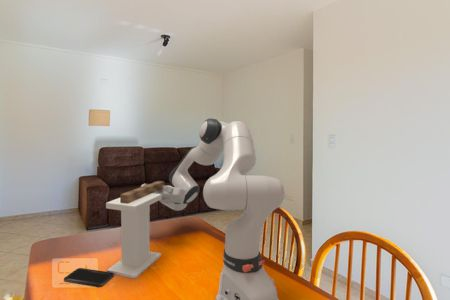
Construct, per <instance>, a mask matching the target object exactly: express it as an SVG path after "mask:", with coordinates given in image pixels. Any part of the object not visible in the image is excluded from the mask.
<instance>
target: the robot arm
mask: <svg viewBox="0 0 450 300" xmlns="http://www.w3.org/2000/svg"><path fill="white" fill-rule="evenodd" d="M199 138H200V141H199V143H198V145H195V146H192V147H191V148H190V149H189V150H187V152H186V153H185V155H184V156H183V157H182V159H180V161H179V163H178V164H177V165H176V166H175V167H174V168H173V169H172V170H171V172H170V173H169V175H168V182H170V184H171V185H165V184H164V185H163V188H162V189H161V190H158V191H156V192H154V193H155V194H162V199H161V200H159V202H160V203H161V204H163V205H164V206H166V207H168V208H169V209H172V211H177V212H178V211H182V210H185V208H187V205H188V204H190V203H192V202H193V201H195V200H196V199H197V198H198V196H199V193H200V186H199V184H198V183H197V182H196V181H195V180H194V178H193V177H192V176H191V175H190V173H189V170H188V169H189V168H190V167H191V165H193V163H194V162H195V163H197V164H199V165H202V166H211V165H214V164H216V162H218V160H219V159H220V156H221V154H222V153H223V164H222V166H221V167H220V169H219V170H218V171H217V172H216V173H215V174H213V175H212V176H210V177H209V178H208V179H207V180H206V181H205V184H204V185H203V190H202V196H203V197H202V198H203V200H204V203H206V205H207V206H208V207H209V208H211V209H216V210H220V211H243V213H242V214H241V215H240V216H238V217H237V218H235V219H233V220H231V221H230V222H229V223H228V225H227V226H226V227H225V235H224V236H225V238H224V249H223V253H222V259H223V261H222V263H223V267H222V269H221V271H220V272H221V273H220V276H219V283H218V284H219V285H218V293H217V294H216V296H215V299H214V300H280V299H279V297H278V290H277V287H276V285H275V280H274V279H273V278H272V277H270V276H269V275H268V272H267V271H266V269H265V268H264V264H266V263H265V259H262V254H261V252H260V243H261V241H260V240H261V233H262V229H263V227H264V223H265V222H266V221H267V219H268V217H269V216H270V215H271V214H272V213H273V212H274V211H275V210H276V209H278V208H279V207H281V205H282V204H283V202H284V199H285V195H286V194H285V188H284V185H283V183H282V182H281V181H280V179H279V178H277V177H273V176H269V175H262V174H261V175H256V174H255V175H253V174H252V175H245V174H247V173H249V172H251V170H252V169H254V167H255V166H256V163H257V161H256V160H257V159H256V158H257V157H256V152H255V150H256V149H255V146H254V140H253V136H252V133H251V131H250V129H249V126H248V125H247V124H246V123H245V122H243V121H239V120H235V121H231V122H229V123H228V122H225V121H222V120H218V119H216V118H207V119H205V120H204V121H203V122H202V124H201V126H200V130H199ZM148 184H149V183H143V184H141V185H140V187H143V186H145V185H148Z"/></svg>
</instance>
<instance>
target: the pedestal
mask: <svg viewBox="0 0 450 300" xmlns="http://www.w3.org/2000/svg"><path fill="white" fill-rule="evenodd" d="M161 199H162V194H155V193H151V194H149V195H147V196H144V197H142V198H140V199H137V200H135V201H133V202H130V203H128V204H127V203H120V197H118V198H115V199H112V200H110V201H107V202H106V203H105V209H108V210H109V209H110V210H114V211H115V210H116V211H120V219H121V221H120V224H121V225H120V227H121V228H120V229H121V231H120V232H121V235H120V236H121V241H120V243H121V245H120V247H121V251H120V253H121V258H120V259H121V260H120V259H119V261H117V262H116V263H114V264H113V265H112V266H110V267H109V268H108V269H106V272H111V273H114V275H116V276H121V277H126V278H129V279H133V280H134V279H137V278H138V277H139V276H140V275H142V273H144V272H145V271H146V270H148V268H149V267H151V266H152V264H154V263H155V262H156V261H157V260H158V259H159V258H160V257H162V253H160V252H155V251H150V241H151V240H150V235H151V234H150V218H151V217H150V213H151V211H150V210H151V209H150V208H151V207H150V205H153V204H154V203H157V202H158V201H159V200H161ZM159 202H160V201H159Z"/></svg>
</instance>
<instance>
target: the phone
mask: <svg viewBox="0 0 450 300" xmlns="http://www.w3.org/2000/svg"><path fill="white" fill-rule="evenodd" d="M114 276H115V274H114V273H111V272H107V271H105V270H104V271H103V270H96V269H90V268H83V267H78V268H76V269H75V270H73V271H72V272H70V273H69V274H68V275H66V276H65V277H64V278H63V282H64V283H71V284H77V285H83V286H88V287H89V286H90V287H95V288H102V287H104V286H105V285H106V284H107V283H108V282H109V281H111V279H113V278H114Z"/></svg>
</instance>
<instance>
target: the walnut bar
mask: <svg viewBox="0 0 450 300" xmlns="http://www.w3.org/2000/svg"><path fill="white" fill-rule="evenodd" d="M147 184H148V185H145V186H143V187H141V186H140V187H137V188H134V189H132V190H129V191H126V192H124V193H121V194H120V196H119V198H120V203H127V204H128V203H130V202H133V201H135V200H137V199H140V198H142V197H144V196H147V195H149V194H151V193H154V192H156V191H158V190H161V189H162V188H163V185H165V181H163V180H157V181H153V182H152V183H147Z"/></svg>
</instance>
